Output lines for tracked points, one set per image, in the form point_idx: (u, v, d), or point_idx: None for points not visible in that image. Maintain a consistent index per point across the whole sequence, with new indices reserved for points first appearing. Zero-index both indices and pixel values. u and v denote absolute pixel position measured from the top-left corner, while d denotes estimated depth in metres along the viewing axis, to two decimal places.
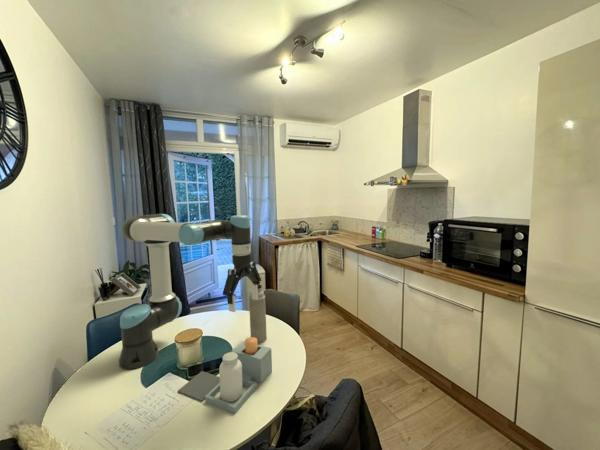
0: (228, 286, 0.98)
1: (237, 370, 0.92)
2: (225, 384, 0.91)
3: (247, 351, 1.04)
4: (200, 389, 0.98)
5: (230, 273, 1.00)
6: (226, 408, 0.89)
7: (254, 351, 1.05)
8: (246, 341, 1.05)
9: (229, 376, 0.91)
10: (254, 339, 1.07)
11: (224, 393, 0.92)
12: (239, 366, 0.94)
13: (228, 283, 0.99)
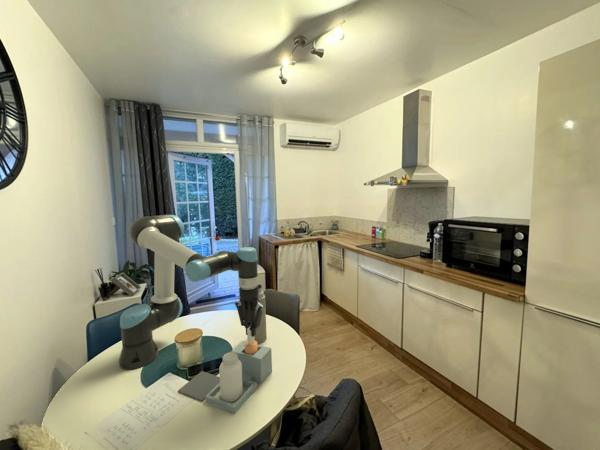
0: None
1: (237, 370, 0.92)
2: (225, 384, 0.91)
3: None
4: (200, 389, 0.98)
5: None
6: (226, 408, 0.89)
7: None
8: (246, 344, 1.06)
9: (229, 376, 0.91)
10: (254, 342, 1.07)
11: (224, 393, 0.92)
12: (239, 366, 0.94)
13: None
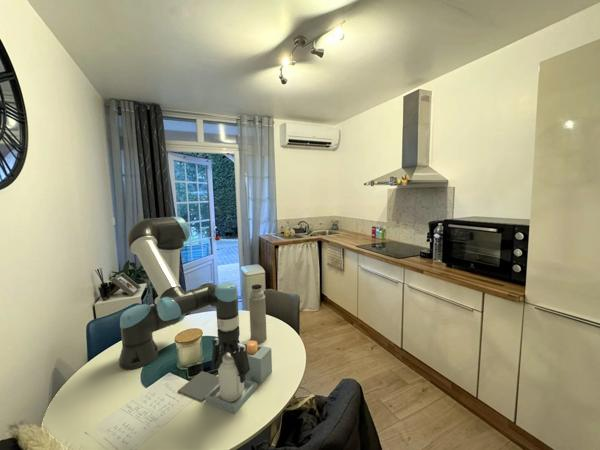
0: None
1: (237, 370, 0.92)
2: (225, 384, 0.91)
3: None
4: (200, 389, 0.98)
5: None
6: (226, 408, 0.89)
7: None
8: None
9: (229, 376, 0.91)
10: (254, 343, 1.07)
11: (224, 393, 0.92)
12: None
13: None
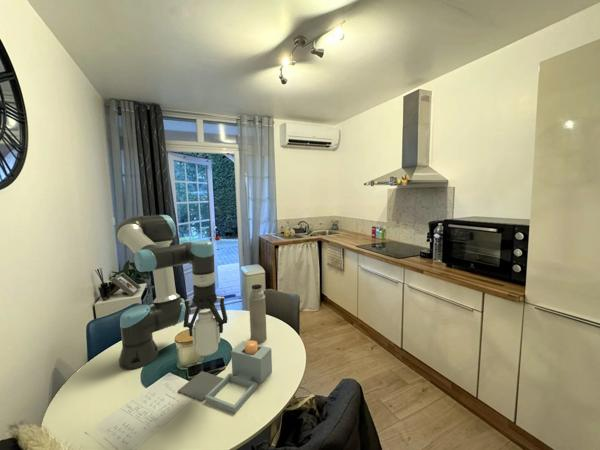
0: None
1: (216, 322, 0.97)
2: (207, 338, 0.94)
3: None
4: (200, 389, 0.98)
5: None
6: (226, 408, 0.89)
7: None
8: (246, 345, 1.06)
9: (210, 329, 0.94)
10: (254, 343, 1.07)
11: (205, 347, 0.94)
12: None
13: (185, 314, 0.95)
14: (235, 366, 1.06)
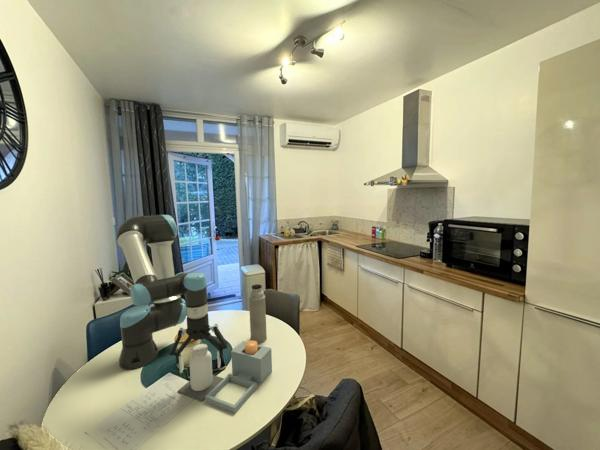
0: None
1: (210, 357, 0.99)
2: (201, 373, 0.96)
3: None
4: None
5: None
6: (226, 408, 0.89)
7: None
8: (246, 345, 1.06)
9: (204, 364, 0.97)
10: (254, 343, 1.07)
11: (199, 383, 0.96)
12: (210, 354, 1.00)
13: (175, 342, 0.97)
14: (235, 366, 1.06)
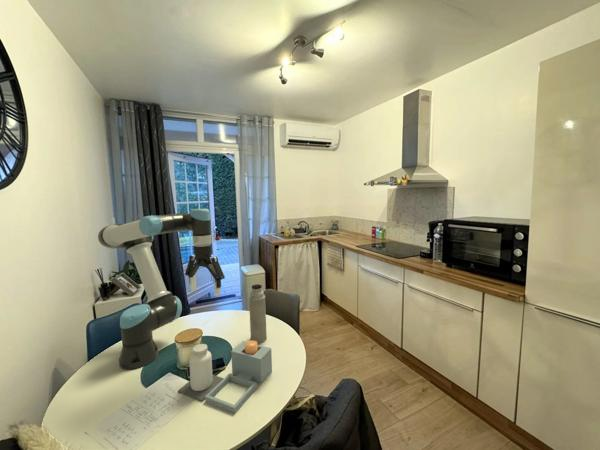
0: None
1: (210, 357, 0.99)
2: (201, 373, 0.96)
3: None
4: None
5: None
6: (226, 408, 0.89)
7: None
8: (246, 345, 1.06)
9: (204, 364, 0.97)
10: (254, 343, 1.07)
11: (199, 383, 0.96)
12: (210, 354, 1.00)
13: None
14: (235, 366, 1.06)
